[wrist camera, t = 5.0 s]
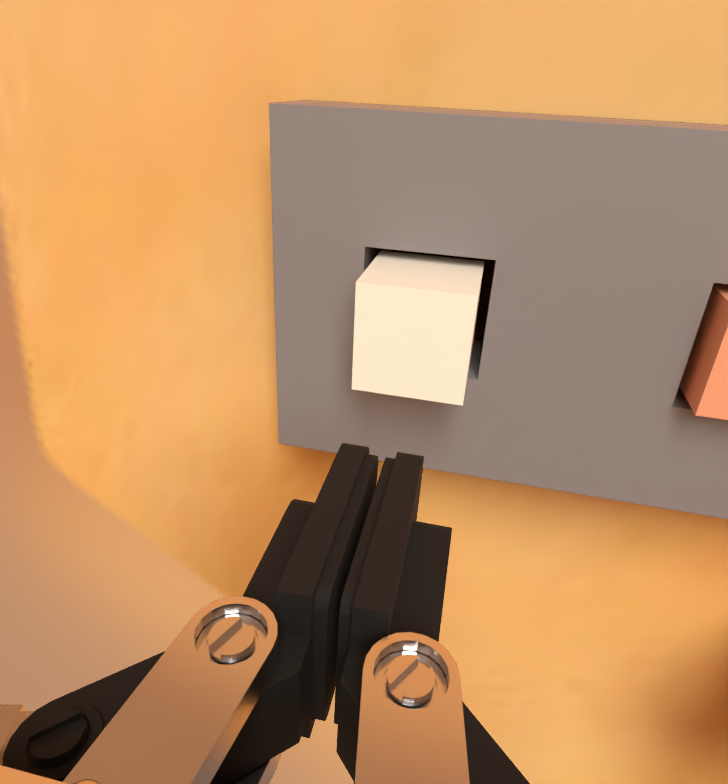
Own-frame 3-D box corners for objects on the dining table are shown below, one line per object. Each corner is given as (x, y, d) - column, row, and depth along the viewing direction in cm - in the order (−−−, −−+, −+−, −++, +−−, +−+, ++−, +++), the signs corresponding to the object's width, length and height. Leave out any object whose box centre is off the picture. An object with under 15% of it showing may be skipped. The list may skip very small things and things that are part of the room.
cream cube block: (470, 357, 24) (462, 405, 20) (375, 344, 25) (351, 389, 21) (484, 261, 22) (478, 296, 19) (381, 250, 23) (355, 281, 19)
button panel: (822, 482, 26) (869, 542, 23) (305, 402, 30) (278, 443, 27) (997, 141, 19) (1101, 153, 16) (304, 100, 24) (268, 102, 20)
